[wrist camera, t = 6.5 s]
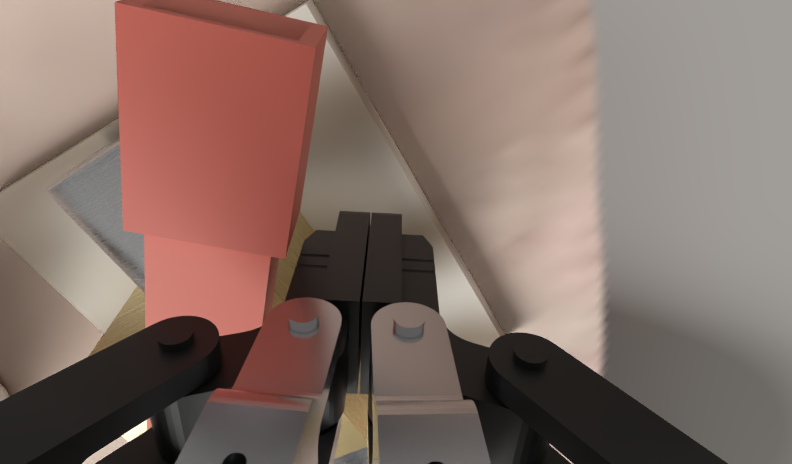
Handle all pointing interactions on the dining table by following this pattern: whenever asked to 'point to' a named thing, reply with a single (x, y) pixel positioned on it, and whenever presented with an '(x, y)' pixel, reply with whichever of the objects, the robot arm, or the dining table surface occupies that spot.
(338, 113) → the mounting board
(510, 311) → the dining table surface
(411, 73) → the dining table surface
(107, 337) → the valve body
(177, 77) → the valve lever
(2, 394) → the milk bottle
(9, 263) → the dining table surface
